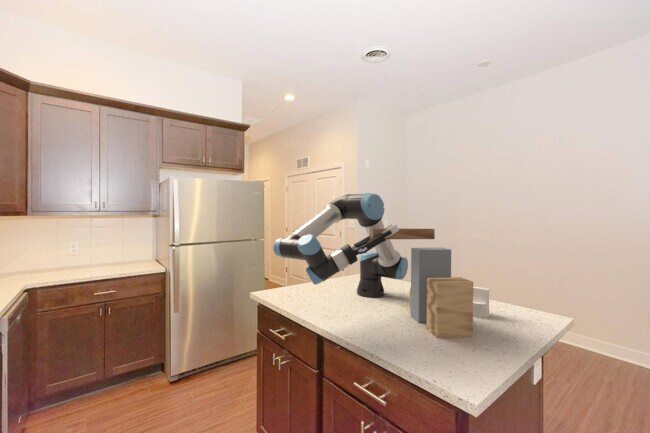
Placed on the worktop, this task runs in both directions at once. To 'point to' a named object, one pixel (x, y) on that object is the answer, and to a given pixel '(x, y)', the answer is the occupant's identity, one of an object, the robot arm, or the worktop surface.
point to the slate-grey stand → (426, 276)
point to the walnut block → (406, 234)
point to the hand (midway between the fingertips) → (395, 227)
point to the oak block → (450, 307)
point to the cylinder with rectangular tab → (480, 302)
